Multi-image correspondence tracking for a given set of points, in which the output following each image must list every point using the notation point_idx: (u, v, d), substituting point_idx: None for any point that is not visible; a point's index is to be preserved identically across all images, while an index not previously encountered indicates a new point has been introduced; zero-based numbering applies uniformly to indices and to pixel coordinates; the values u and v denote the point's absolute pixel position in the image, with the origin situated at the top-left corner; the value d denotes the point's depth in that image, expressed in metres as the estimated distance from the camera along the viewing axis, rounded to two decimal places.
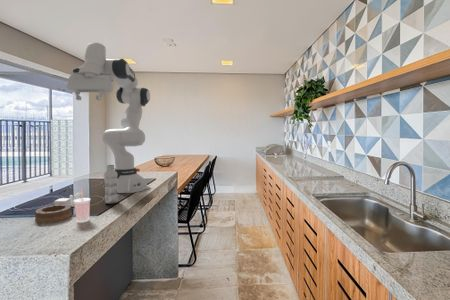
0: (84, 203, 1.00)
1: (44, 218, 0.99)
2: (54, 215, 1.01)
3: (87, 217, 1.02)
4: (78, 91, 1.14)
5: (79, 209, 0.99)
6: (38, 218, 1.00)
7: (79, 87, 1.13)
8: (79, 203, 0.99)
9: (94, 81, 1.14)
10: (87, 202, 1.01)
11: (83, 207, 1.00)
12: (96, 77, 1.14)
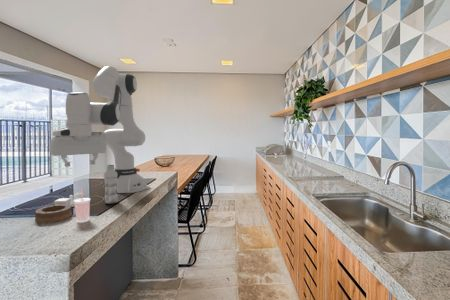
0: (84, 203, 1.00)
1: (44, 218, 0.99)
2: (54, 215, 1.01)
3: (87, 217, 1.02)
4: None
5: (79, 209, 0.99)
6: (38, 218, 1.00)
7: (70, 153, 0.96)
8: (79, 203, 0.99)
9: (88, 144, 1.01)
10: (87, 202, 1.01)
11: (83, 207, 1.00)
12: (89, 139, 1.01)
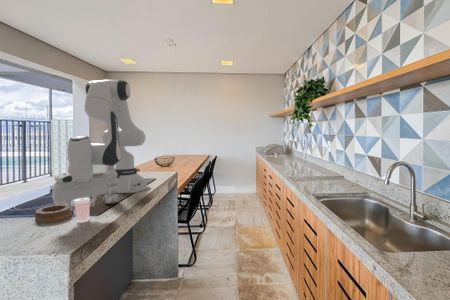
0: (84, 203, 1.00)
1: (44, 218, 0.99)
2: (54, 215, 1.01)
3: (87, 217, 1.02)
4: None
5: (79, 209, 0.99)
6: (38, 218, 1.00)
7: (72, 197, 0.98)
8: (79, 203, 0.99)
9: (89, 187, 1.02)
10: (87, 202, 1.01)
11: (83, 207, 1.00)
12: (91, 182, 1.03)
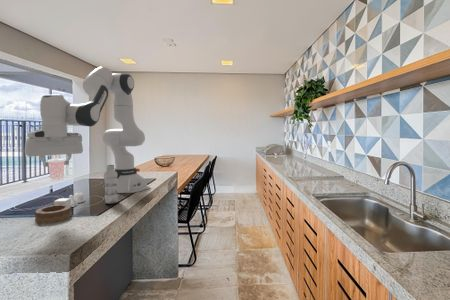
0: (57, 162, 1.02)
1: (44, 218, 0.99)
2: (54, 215, 1.01)
3: (61, 177, 1.03)
4: None
5: (53, 168, 1.01)
6: (38, 218, 1.00)
7: (45, 153, 0.99)
8: (52, 162, 1.01)
9: (63, 145, 1.04)
10: (61, 162, 1.03)
11: (57, 166, 1.02)
12: (65, 140, 1.04)
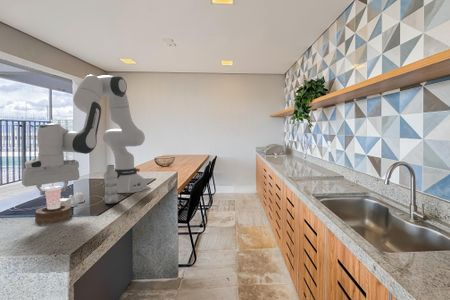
0: (54, 190, 1.03)
1: (44, 218, 0.99)
2: (54, 215, 1.01)
3: (58, 204, 1.05)
4: None
5: (49, 196, 1.02)
6: (38, 218, 1.00)
7: (42, 182, 1.00)
8: (49, 190, 1.02)
9: (60, 173, 1.05)
10: (57, 189, 1.04)
11: (53, 194, 1.03)
12: (62, 168, 1.05)
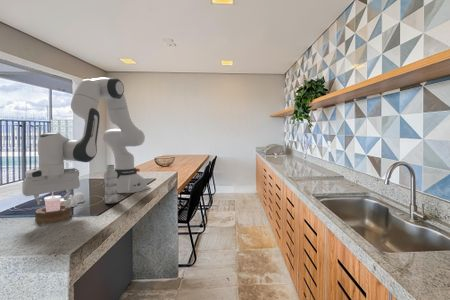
0: (54, 201, 1.03)
1: (44, 218, 0.99)
2: (54, 215, 1.01)
3: None
4: None
5: (49, 206, 1.03)
6: (38, 218, 1.00)
7: (42, 192, 1.01)
8: (49, 201, 1.02)
9: (60, 182, 1.05)
10: (57, 200, 1.04)
11: (53, 204, 1.03)
12: (62, 177, 1.06)
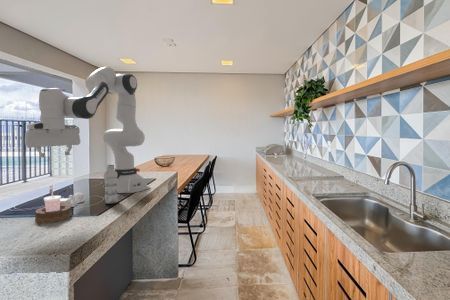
0: (54, 201, 1.03)
1: (44, 218, 0.99)
2: (54, 215, 1.01)
3: None
4: None
5: (49, 207, 1.03)
6: (38, 218, 1.00)
7: (44, 144, 1.04)
8: (49, 201, 1.02)
9: (61, 136, 1.09)
10: (57, 200, 1.04)
11: (53, 205, 1.03)
12: (63, 132, 1.09)
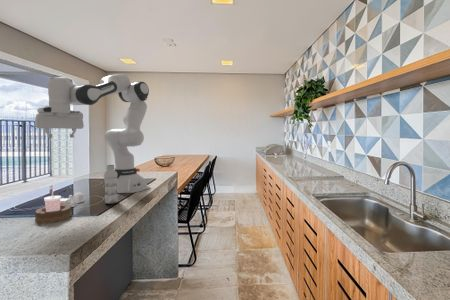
0: (54, 201, 1.03)
1: (44, 218, 0.99)
2: (54, 215, 1.01)
3: None
4: None
5: (49, 206, 1.03)
6: (38, 218, 1.00)
7: (52, 126, 1.18)
8: (49, 201, 1.02)
9: (67, 120, 1.23)
10: (57, 200, 1.04)
11: (53, 204, 1.03)
12: (68, 116, 1.23)
